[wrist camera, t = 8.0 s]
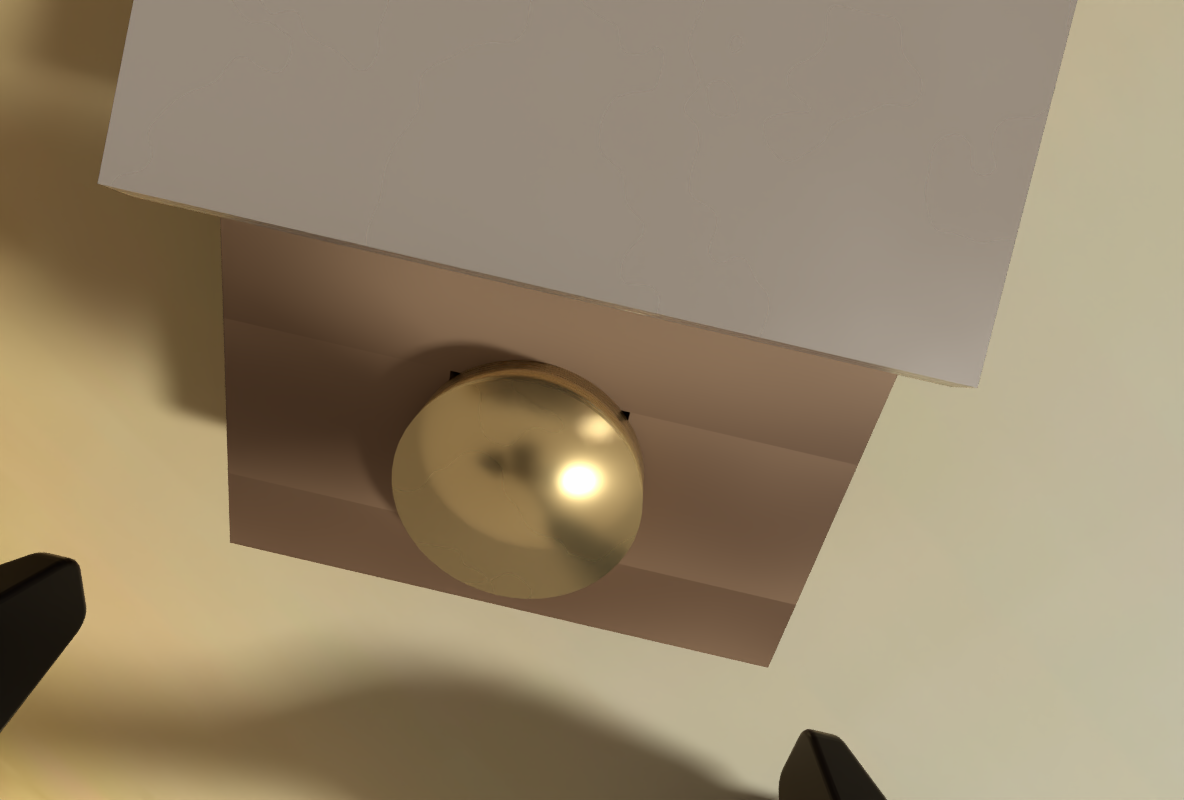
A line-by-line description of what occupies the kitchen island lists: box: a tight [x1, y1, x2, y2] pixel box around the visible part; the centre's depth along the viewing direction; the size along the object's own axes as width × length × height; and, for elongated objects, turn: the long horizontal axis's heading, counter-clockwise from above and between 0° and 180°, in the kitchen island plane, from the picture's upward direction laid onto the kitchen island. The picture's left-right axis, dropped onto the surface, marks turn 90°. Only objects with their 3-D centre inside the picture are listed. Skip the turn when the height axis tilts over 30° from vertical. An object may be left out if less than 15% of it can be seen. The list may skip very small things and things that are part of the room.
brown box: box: [220, 217, 897, 667], centre depth 12 cm, size 16×12×5 cm
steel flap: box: [98, 0, 1077, 388], centre depth 8 cm, size 7×11×1 cm, turn 78°
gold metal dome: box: [392, 360, 644, 599], centre depth 14 cm, size 5×5×5 cm
